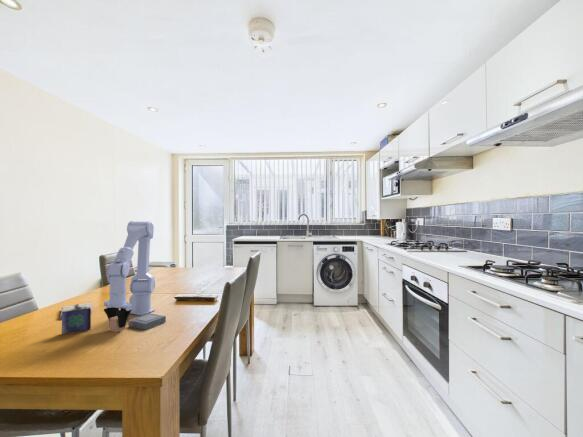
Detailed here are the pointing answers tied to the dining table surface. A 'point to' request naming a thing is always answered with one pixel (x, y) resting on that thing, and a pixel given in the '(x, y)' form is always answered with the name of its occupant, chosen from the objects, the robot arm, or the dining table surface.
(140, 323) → the slate plinth
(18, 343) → the dining table surface
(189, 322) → the dining table surface
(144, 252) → the robot arm
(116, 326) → the terracotta block
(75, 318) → the flask
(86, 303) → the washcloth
